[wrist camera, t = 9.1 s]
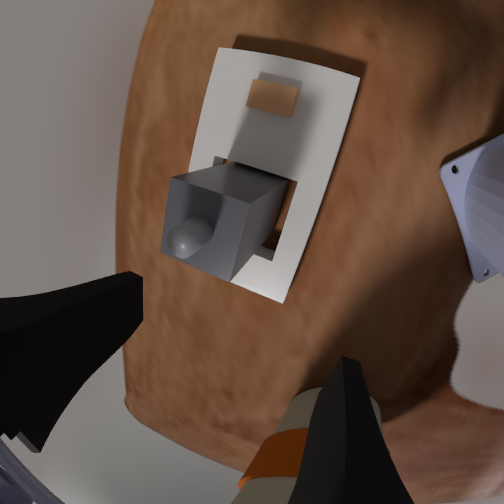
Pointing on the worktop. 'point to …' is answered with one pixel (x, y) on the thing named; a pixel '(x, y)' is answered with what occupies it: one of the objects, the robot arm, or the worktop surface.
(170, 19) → the worktop surface
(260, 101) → the white board with cutouts
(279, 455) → the reusable coffee cup
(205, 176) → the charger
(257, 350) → the worktop surface
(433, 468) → the worktop surface
